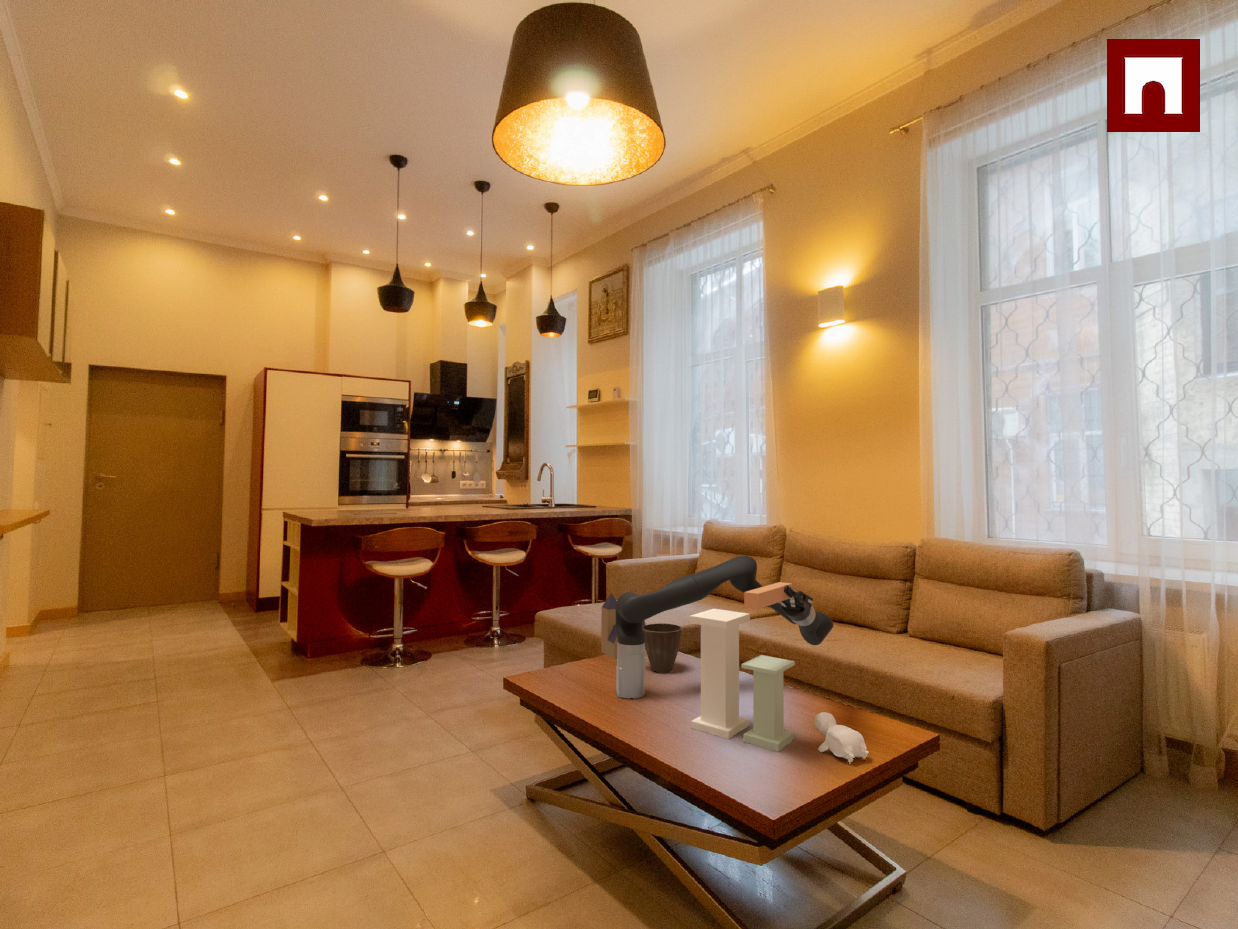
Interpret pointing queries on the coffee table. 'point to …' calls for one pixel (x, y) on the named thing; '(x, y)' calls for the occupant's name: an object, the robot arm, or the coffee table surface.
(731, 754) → the coffee table surface
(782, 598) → the beam
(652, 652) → the plant pot
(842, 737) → the white turtle figurine
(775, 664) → the short stand
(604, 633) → the toy building blocks
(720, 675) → the tall stand
